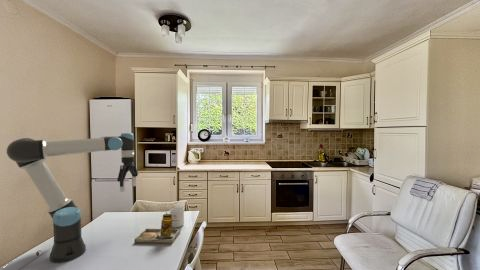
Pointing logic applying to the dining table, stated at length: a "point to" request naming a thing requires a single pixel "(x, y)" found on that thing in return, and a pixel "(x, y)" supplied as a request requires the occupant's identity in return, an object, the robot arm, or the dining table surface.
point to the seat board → (156, 237)
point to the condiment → (166, 226)
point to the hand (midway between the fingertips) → (128, 188)
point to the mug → (177, 216)
